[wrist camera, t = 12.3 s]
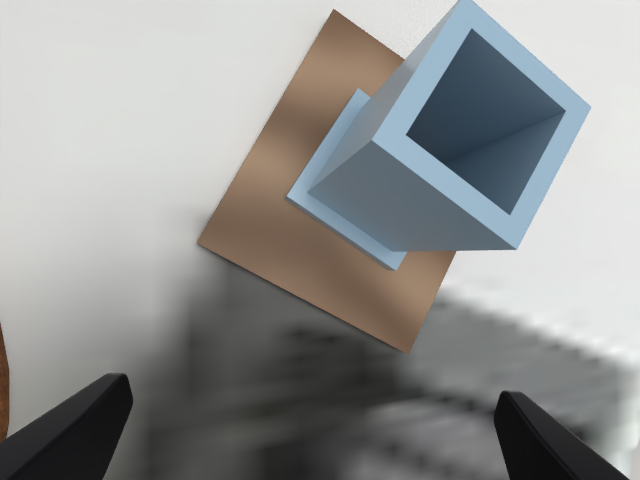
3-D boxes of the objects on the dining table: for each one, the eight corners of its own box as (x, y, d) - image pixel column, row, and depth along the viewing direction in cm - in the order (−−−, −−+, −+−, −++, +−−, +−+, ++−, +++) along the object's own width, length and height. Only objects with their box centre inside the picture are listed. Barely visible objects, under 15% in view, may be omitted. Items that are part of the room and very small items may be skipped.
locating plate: (399, 349, 24) (435, 369, 19) (198, 243, 21) (190, 240, 17) (497, 140, 26) (547, 119, 22) (328, 21, 23) (349, -29, 19)
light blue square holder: (389, 270, 22) (523, 283, 12) (284, 198, 21) (335, 145, 11) (448, 169, 23) (615, 103, 13) (352, 95, 22) (457, -41, 12)
